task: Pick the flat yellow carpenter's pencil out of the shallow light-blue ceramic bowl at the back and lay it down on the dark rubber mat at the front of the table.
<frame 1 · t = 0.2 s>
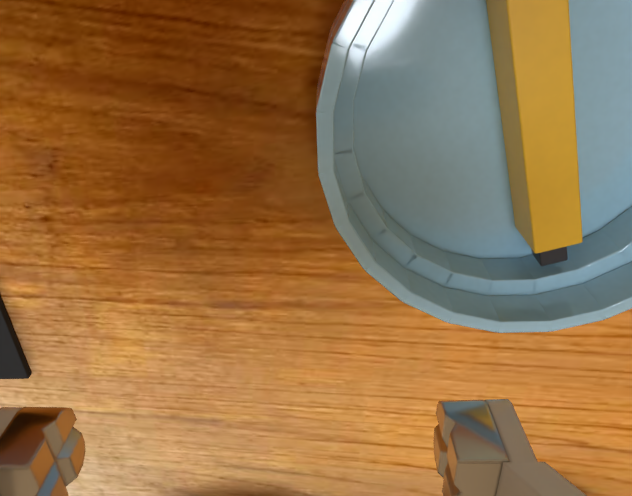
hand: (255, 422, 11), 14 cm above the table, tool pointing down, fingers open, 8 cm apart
blue bowl: (520, 105, 22), on the table
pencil: (524, 108, 21), resting on blue bowl
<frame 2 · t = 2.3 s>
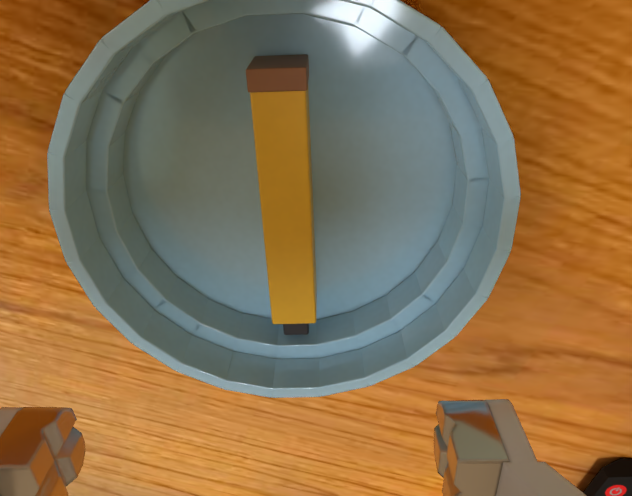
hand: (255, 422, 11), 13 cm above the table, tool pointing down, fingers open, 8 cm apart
blue bowl: (290, 184, 23), on the table
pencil: (289, 188, 23), resting on blue bowl
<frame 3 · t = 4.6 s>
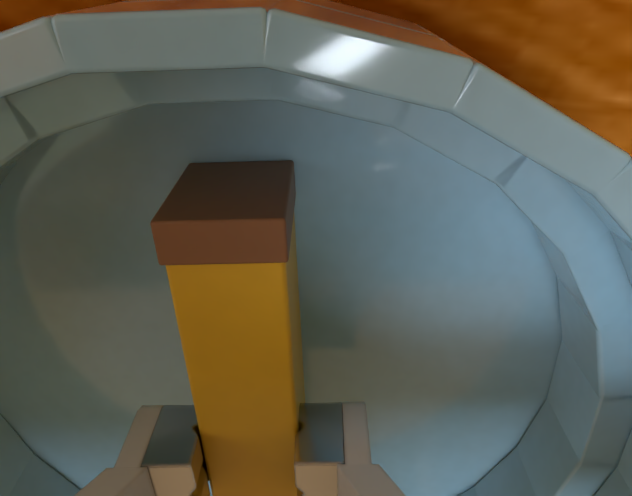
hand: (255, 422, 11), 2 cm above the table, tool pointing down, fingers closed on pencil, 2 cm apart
blue bowl: (265, 360, 13), on the table
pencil: (264, 373, 13), point 1 cm above the table, touching blue bowl, gripper
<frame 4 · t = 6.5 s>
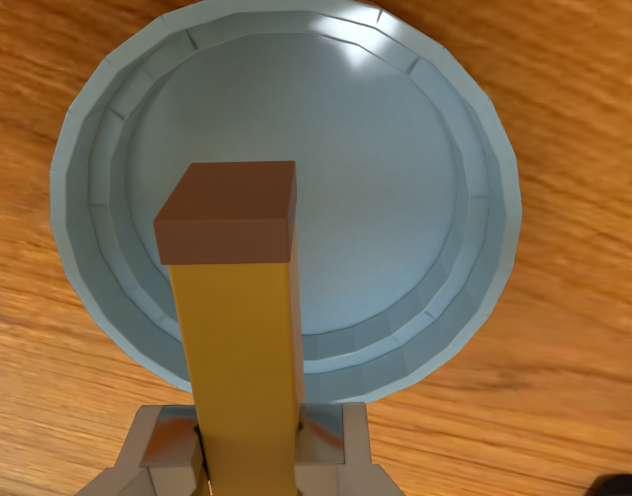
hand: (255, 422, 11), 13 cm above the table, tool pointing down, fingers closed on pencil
blue bowl: (292, 200, 23), on the table
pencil: (264, 373, 13), point 11 cm above the table, touching gripper
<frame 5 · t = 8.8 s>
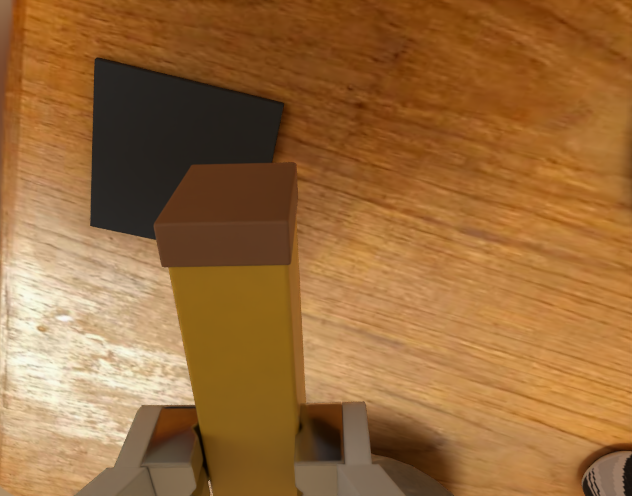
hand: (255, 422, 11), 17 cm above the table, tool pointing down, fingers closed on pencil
bowl: (344, 484, 40), on the table
mat: (182, 166, 27), on the table
beverage can: (615, 466, 38), on the table
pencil: (265, 374, 13), point 16 cm above the table, touching gripper
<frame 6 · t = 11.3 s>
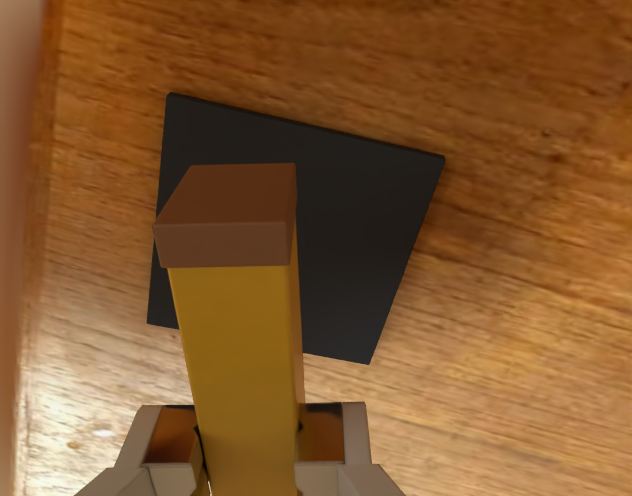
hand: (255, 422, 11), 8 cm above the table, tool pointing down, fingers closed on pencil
mat: (283, 244, 19), on the table
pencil: (264, 375, 13), point 7 cm above the table, touching gripper
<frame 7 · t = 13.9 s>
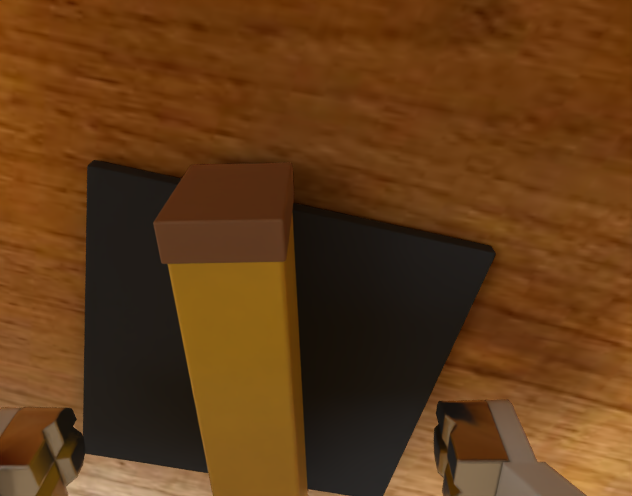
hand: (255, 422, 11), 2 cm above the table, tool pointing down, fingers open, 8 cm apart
mat: (264, 356, 13), on the table
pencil: (262, 370, 13), resting on mat
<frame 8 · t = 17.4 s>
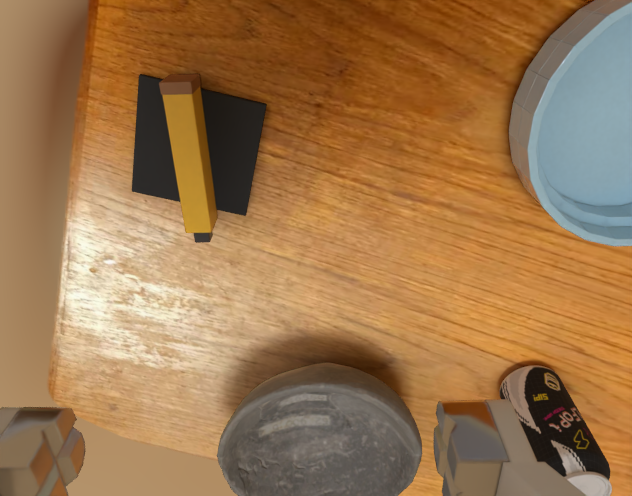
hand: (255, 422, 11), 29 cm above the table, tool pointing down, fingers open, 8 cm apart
blue bowl: (628, 111, 37), on the table
bowl: (319, 397, 51), on the table
mat: (197, 148, 39), on the table
beverage can: (526, 381, 50), on the table
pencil: (195, 151, 38), resting on mat
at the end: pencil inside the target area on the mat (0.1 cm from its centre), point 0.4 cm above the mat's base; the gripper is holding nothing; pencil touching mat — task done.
